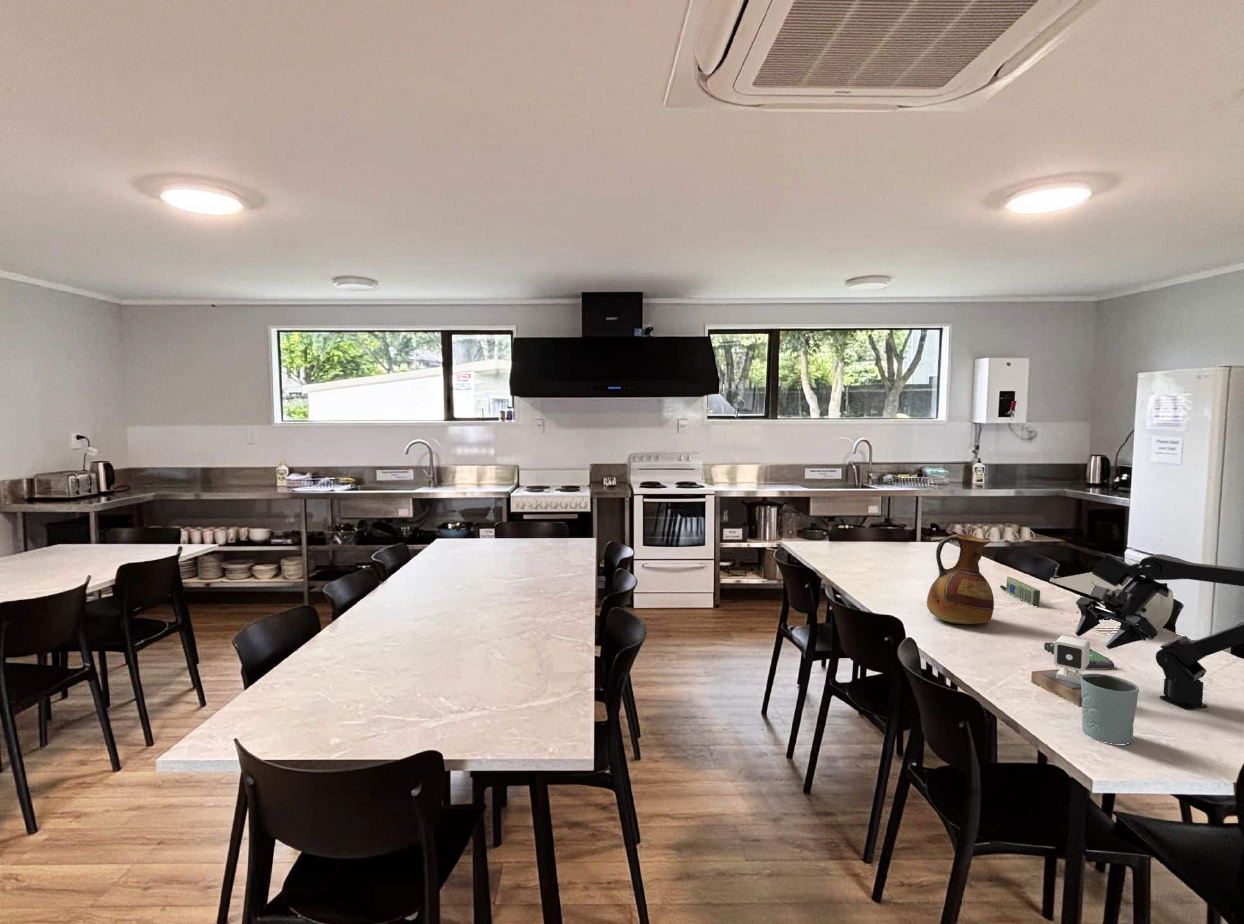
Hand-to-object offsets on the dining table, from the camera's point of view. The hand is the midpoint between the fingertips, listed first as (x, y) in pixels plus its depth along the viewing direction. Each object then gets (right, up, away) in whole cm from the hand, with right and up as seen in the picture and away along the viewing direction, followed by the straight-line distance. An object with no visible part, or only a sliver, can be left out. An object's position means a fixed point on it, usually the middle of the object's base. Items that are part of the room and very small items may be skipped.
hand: (1091, 641), depth 158 cm
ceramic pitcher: (-2, -10, +58) cm, 59 cm away
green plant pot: (-13, -15, -21) cm, 29 cm away
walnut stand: (-5, -13, 0) cm, 14 cm away
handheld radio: (+36, -8, +86) cm, 94 cm away
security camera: (-5, -10, 0) cm, 11 cm away
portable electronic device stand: (+46, -10, +55) cm, 72 cm away
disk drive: (+13, -12, +23) cm, 29 cm away
